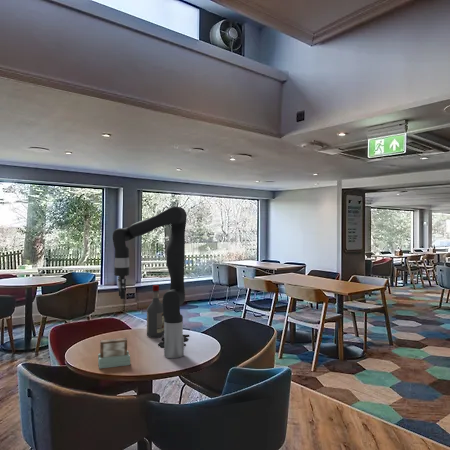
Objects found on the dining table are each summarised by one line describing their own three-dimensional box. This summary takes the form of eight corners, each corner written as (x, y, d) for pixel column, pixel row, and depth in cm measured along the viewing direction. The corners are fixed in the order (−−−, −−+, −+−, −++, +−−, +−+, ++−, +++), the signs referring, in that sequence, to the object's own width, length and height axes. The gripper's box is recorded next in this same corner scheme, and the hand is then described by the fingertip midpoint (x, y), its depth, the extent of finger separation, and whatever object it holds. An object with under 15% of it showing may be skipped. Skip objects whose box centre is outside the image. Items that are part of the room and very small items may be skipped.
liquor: (145, 337, 224) (145, 286, 225) (151, 333, 233) (151, 284, 234) (159, 338, 222) (160, 286, 223) (165, 334, 231) (165, 284, 232)
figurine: (166, 335, 230) (151, 350, 200) (166, 333, 230) (151, 349, 200) (192, 335, 228) (181, 352, 199) (192, 334, 228) (181, 350, 199)
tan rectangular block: (126, 356, 185) (126, 337, 185) (127, 358, 181) (127, 339, 181) (100, 359, 180) (100, 340, 180) (100, 361, 177) (100, 342, 177)
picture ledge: (127, 358, 188) (128, 349, 188) (130, 364, 179) (130, 356, 179) (98, 361, 183) (98, 353, 183) (99, 368, 174) (99, 359, 174)
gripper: (130, 267, 194) (130, 299, 194) (127, 264, 207) (127, 294, 207) (115, 267, 191) (115, 300, 191) (113, 265, 204) (113, 295, 204)
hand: (121, 297), depth 199 cm, fingers open, 8 cm apart
